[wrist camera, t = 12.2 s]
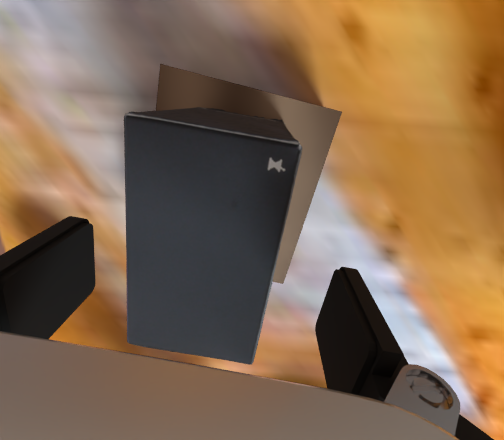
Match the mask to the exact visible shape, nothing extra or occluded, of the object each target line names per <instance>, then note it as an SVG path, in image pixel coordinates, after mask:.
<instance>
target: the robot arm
mask: <svg viewBox="0 0 504 440" xmlns="http://www.w3.org/2000/svg"><path fill="white" fill-rule="evenodd" d="M94 287H95V262H94V236H93V226H92V224H89V221H88V220H87V219H83V218H78V217H72V216H70V217H67V218H65V219H64V220H62V221H60V222H58V223H57V224H55V225H53V226H51V227H50V228H48V229H46V230H44V231H43V232H41V233H39V234H37V235H36V236H34V237H32V238H30V239H29V240H27V241H25V242H23V243H22V244H20V245H18V246H16V247H14V248H13V249H11V250H9V251H7V252H6V253H4V254H2V255H0V440H494V439H492V438H491V437H490V436H488V435H487V434H485V433H484V432H483V431H481V430H480V429H479V428H477V427H476V426H475V425H473V424H472V423H471V422H469V421H468V420H467V419H465V418H464V417H463V416H461V415H460V414H459V413H460V402H459V399H458V397H457V395H456V393H455V392H454V390H453V389H452V388H451V386H450V385H449V384H448V383H447V382H446V381H445V380H444V379H442V378H441V377H440V376H438V375H437V374H436V373H434V372H432V371H430V370H429V369H427V368H424V367H421V366H419V365H411V364H410V365H409V364H408V362H407V360H406V359H405V357H404V354H403V352H402V350H401V349H400V347H399V345H398V343H397V341H396V339H395V338H394V336H393V334H392V332H391V330H390V328H389V327H388V325H387V323H386V321H385V319H384V317H383V316H382V314H381V312H380V310H379V308H378V306H377V305H376V303H375V301H374V299H373V297H372V295H371V294H370V292H369V290H368V288H367V286H366V284H365V283H364V281H363V279H362V277H361V275H360V273H359V272H358V270H357V269H352V268H346V267H341V268H340V269H339V270H337V269H336V270H335V271H334V274H333V276H332V279H331V282H330V285H329V288H328V291H327V294H326V297H325V299H324V302H323V305H322V308H321V311H320V314H319V317H318V319H317V322H316V328H315V331H316V337H317V341H318V346H319V351H320V356H321V360H322V365H323V370H324V374H325V379H326V384H327V388H321V387H316V386H310V385H305V384H299V383H294V382H289V381H283V380H277V379H272V378H266V377H261V376H255V375H250V374H244V373H239V372H233V371H228V370H222V369H217V368H211V367H206V366H200V365H194V364H189V363H183V362H177V361H172V360H166V359H160V358H154V357H149V356H143V355H137V354H132V353H126V352H120V351H114V350H108V349H103V348H97V347H91V346H85V345H79V344H73V343H67V342H61V341H55V340H49V338H50V337H51V336H52V335H53V334H54V332H55V331H56V330H57V329H58V328H59V327H60V326H61V325H62V324H63V323H64V322H65V321H66V320H67V318H68V317H69V316H70V315H71V314H72V313H73V312H74V311H75V310H76V309H77V308H78V307H79V306H80V304H81V303H82V302H83V301H84V300H85V299H86V298H87V297H88V296H89V295H90V294H91V293H92V291H93V289H94Z"/></svg>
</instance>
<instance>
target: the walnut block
mask: <svg viewBox="0 0 504 440" xmlns="http://www.w3.org/2000/svg"><path fill="white" fill-rule="evenodd" d="M196 107H202V108H214V109H222V110H224V111H226V112H232V113H238V114H243V115H249V116H258V117H264V118H265V119H278V120H281V119H282V120H283V122H284V123H285V125H286V128H287V129H288V130H289V132H290V133H291V134H292V136H293V137H294V138H295V139H296V140H298V141H299V143H300V145H301V146H302V154H301V158H300V162H299V167H298V171H297V176H296V179H295V185H294V188H293V193H292V198H291V202H290V207H289V211H288V215H287V219H286V223H285V228H284V232H283V236H282V240H281V244H280V249H279V254H278V258H277V263H276V268H275V272H274V276H273V282H277V283H282V284H283V283H284V280H285V277H286V274H287V271H288V268H289V265H290V262H291V259H292V256H293V253H294V251H295V248H296V245H297V242H298V239H299V236H300V233H301V230H302V227H303V224H304V221H305V218H306V215H307V213H308V210H309V207H310V204H311V201H312V198H313V195H314V192H315V189H316V186H317V183H318V180H319V178H320V175H321V172H322V169H323V166H324V163H325V160H326V157H327V154H328V151H329V148H330V145H331V142H332V140H333V137H334V134H335V131H336V128H337V125H338V122H339V119H340V116H341V113H342V112H341V111H337V110H333V109H329V108H325V107H322V106H318V105H314V104H310V103H306V102H303V101H299V100H295V99H291V98H288V97H284V96H280V95H276V94H272V93H269V92H265V91H261V90H257V89H254V88H250V87H246V86H242V85H238V84H235V83H231V82H227V81H223V80H219V79H216V78H212V77H208V76H204V75H201V74H197V73H193V72H189V71H185V70H182V69H178V68H174V67H170V66H166V65H163V64H160V74H159V84H158V94H157V104H156V111H158V110H160V111H162V110H173V109H185V108H196Z"/></svg>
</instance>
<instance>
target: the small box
mask: <svg viewBox="0 0 504 440" xmlns="http://www.w3.org/2000/svg"><path fill="white" fill-rule="evenodd" d="M124 138H125V195H126V250H127V342H128V343H130V344H133V345H138V346H143V347H148V348H155V349H160V350H167V351H171V352H179V353H185V354H191V355H198V356H204V357H210V358H216V359H223V360H228V361H234V362H239V363H244V364H252V363H253V361H254V357H255V353H256V349H257V345H258V340H259V336H260V332H261V328H262V323H263V318H264V315H265V310H266V306H267V302H268V297H269V293H270V289H271V285H272V281H273V276H274V272H275V268H276V263H277V258H278V254H279V249H280V244H281V240H282V236H283V232H284V228H285V223H286V219H287V215H288V211H289V207H290V202H291V198H292V193H293V188H294V185H295V179H296V176H297V171H298V167H299V162H300V158H301V154H302V146H301V145H300V143H299V141H298V140H296V139H295V138H294V137H293V136H292V134H291V133H290V132H289V130H288V129H287V128H286V125H285V123H284V122H283V120H282V119H281V120H278V119H265V118H264V117H258V116H249V115H243V114H238V113H232V112H226V111H224V110H222V109H214V108H202V107H196V108H185V109H173V110H162V111H160V110H158V111H148V112H129V113H127V114H125V116H124Z"/></svg>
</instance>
